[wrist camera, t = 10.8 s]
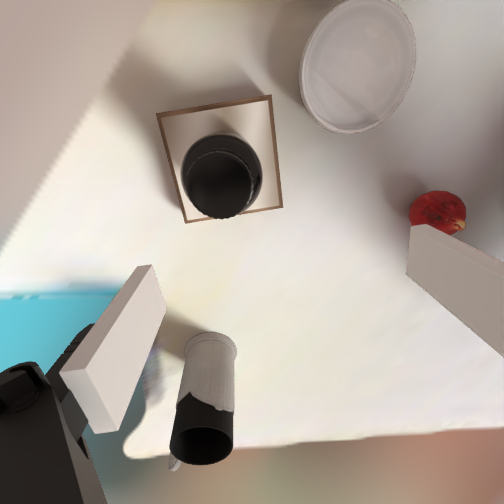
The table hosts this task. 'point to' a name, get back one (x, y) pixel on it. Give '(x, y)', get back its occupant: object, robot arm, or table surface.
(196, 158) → the supplement bottle
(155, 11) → the table surface
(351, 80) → the ramekin
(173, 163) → the plinth
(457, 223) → the onion
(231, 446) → the glass holder
